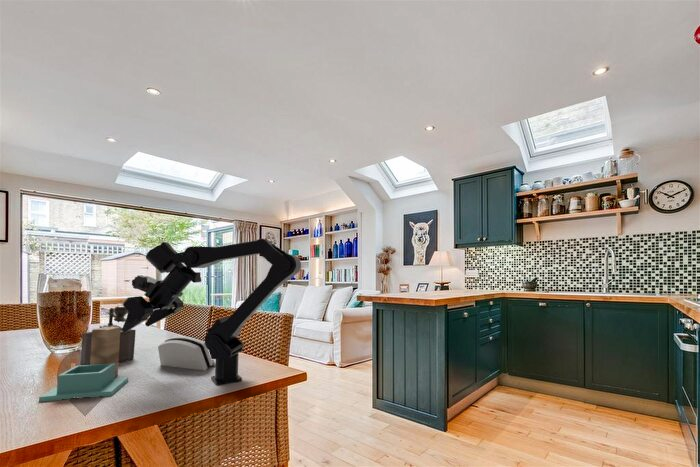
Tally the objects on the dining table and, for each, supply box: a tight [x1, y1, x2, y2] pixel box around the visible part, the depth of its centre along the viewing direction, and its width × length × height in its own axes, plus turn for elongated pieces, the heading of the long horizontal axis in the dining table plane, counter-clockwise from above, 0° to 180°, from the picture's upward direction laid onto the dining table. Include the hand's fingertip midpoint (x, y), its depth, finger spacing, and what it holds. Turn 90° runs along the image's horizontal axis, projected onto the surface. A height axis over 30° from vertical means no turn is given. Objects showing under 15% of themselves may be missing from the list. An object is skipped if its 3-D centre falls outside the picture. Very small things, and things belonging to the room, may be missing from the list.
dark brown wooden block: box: [79, 304, 136, 365], centre depth 112 cm, size 16×11×18 cm
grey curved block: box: [157, 335, 216, 371], centre depth 106 cm, size 17×5×10 cm, turn 71°
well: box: [38, 363, 129, 403], centre depth 86 cm, size 14×11×5 cm
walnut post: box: [90, 326, 121, 377], centre depth 96 cm, size 4×4×13 cm
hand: (135, 328), depth 97 cm, fingers open, 9 cm apart
